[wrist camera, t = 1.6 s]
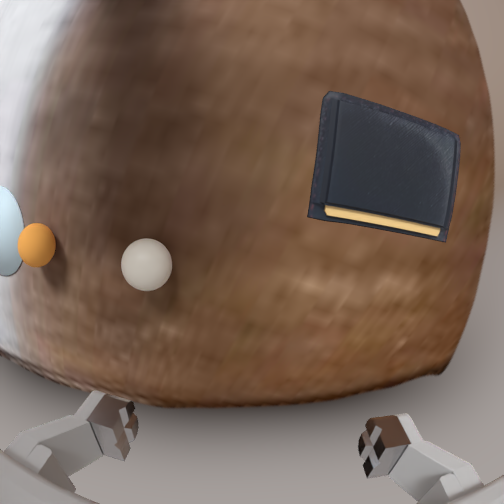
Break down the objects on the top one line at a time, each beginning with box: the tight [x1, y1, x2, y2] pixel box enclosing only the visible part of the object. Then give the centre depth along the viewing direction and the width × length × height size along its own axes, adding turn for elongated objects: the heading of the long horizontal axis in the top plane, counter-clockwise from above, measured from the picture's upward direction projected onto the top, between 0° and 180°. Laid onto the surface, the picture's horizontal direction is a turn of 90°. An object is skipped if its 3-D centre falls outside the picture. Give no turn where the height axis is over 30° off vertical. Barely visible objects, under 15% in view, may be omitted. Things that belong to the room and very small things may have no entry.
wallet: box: [307, 91, 461, 242], centre depth 29 cm, size 20×2×15 cm
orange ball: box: [18, 223, 56, 267], centre depth 28 cm, size 6×6×6 cm
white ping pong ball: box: [121, 238, 172, 291], centre depth 29 cm, size 6×6×6 cm
